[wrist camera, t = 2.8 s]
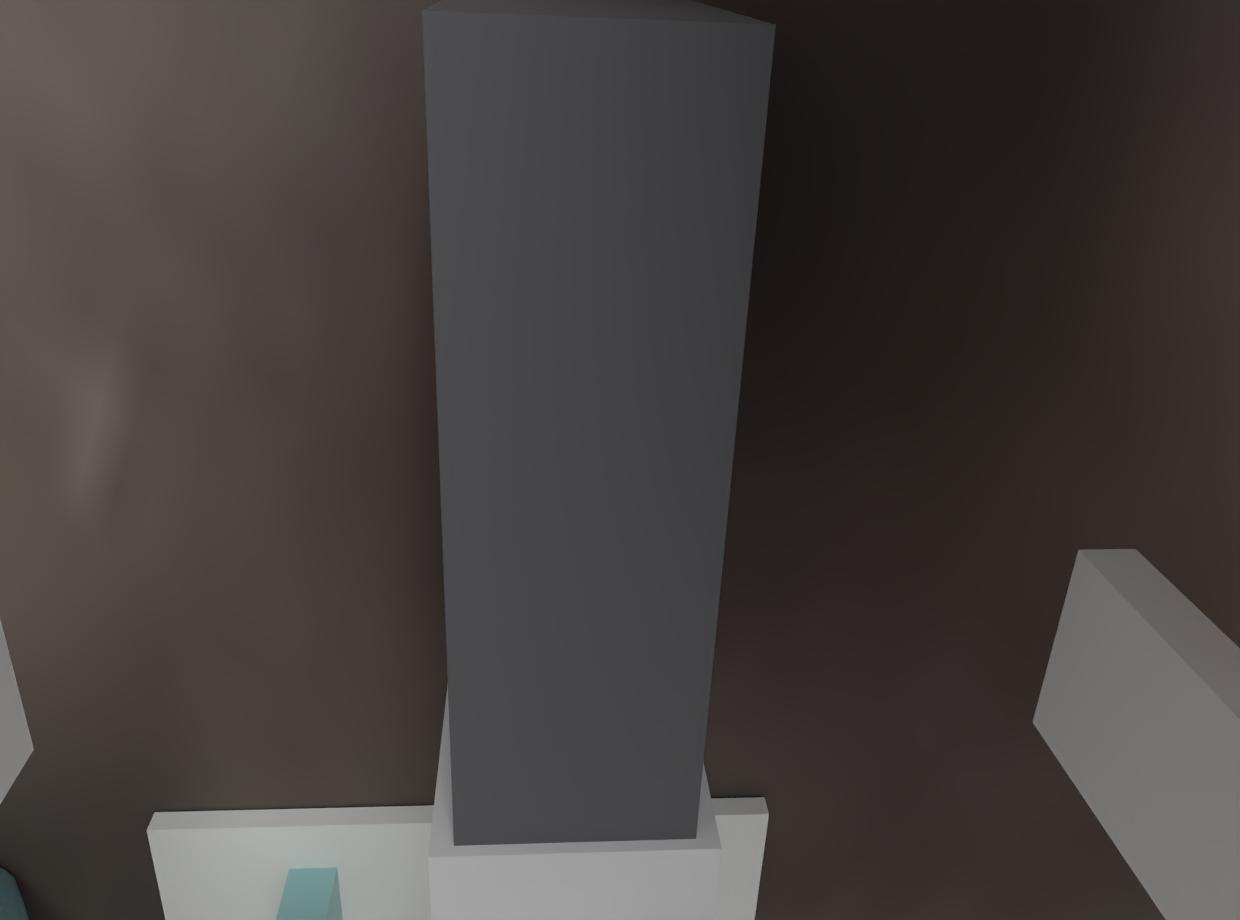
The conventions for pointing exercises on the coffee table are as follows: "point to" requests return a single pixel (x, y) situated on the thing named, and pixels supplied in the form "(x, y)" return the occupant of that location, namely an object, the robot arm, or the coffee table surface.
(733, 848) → the board
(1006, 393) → the coffee table surface
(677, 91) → the bar
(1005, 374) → the coffee table surface
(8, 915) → the flower pot
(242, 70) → the coffee table surface
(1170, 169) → the coffee table surface
